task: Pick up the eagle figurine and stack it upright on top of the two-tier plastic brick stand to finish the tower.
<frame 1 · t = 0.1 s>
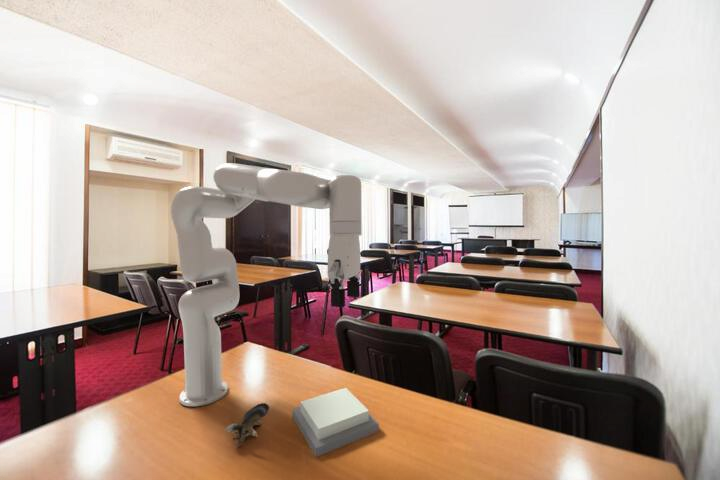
hand: (346, 301, 72), 31 cm above the table, tool pointing down, fingers open, 9 cm apart
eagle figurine: (249, 436, 71), on the table
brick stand: (333, 425, 75), on the table
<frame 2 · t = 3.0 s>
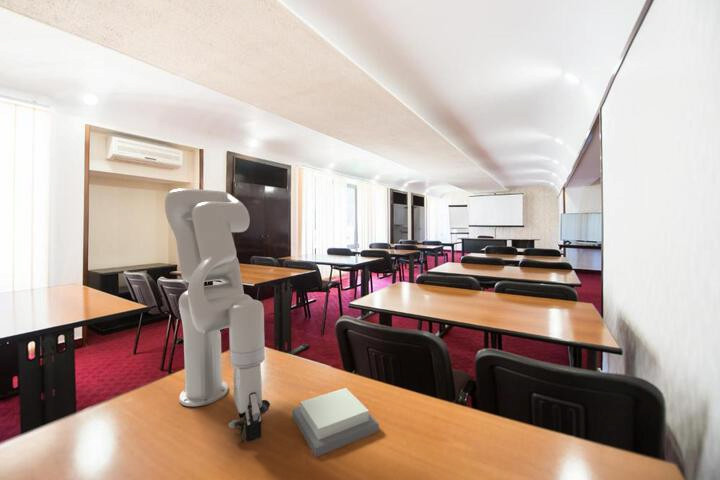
hand: (249, 427, 70), 2 cm above the table, tool pointing down, fingers open, 9 cm apart
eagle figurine: (250, 432, 72), on the table, touching gripper
everything else where it was.
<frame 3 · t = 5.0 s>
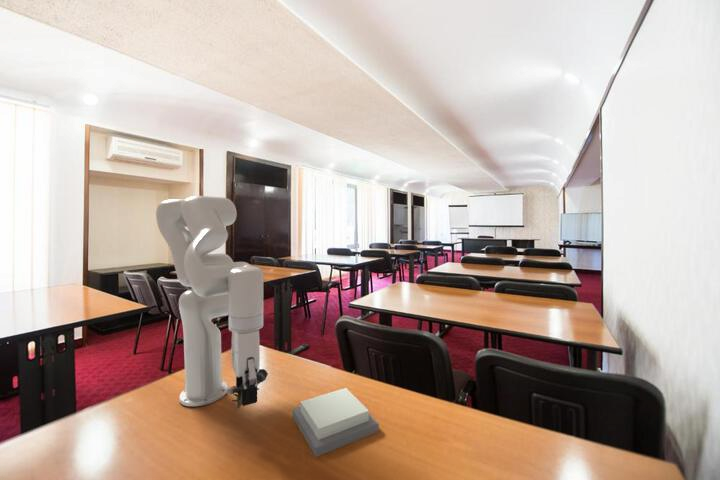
hand: (246, 393, 71), 10 cm above the table, tool pointing down, fingers closed on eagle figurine, 7 cm apart
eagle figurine: (248, 400, 73), point 7 cm above the table, touching gripper
everything else where it was.
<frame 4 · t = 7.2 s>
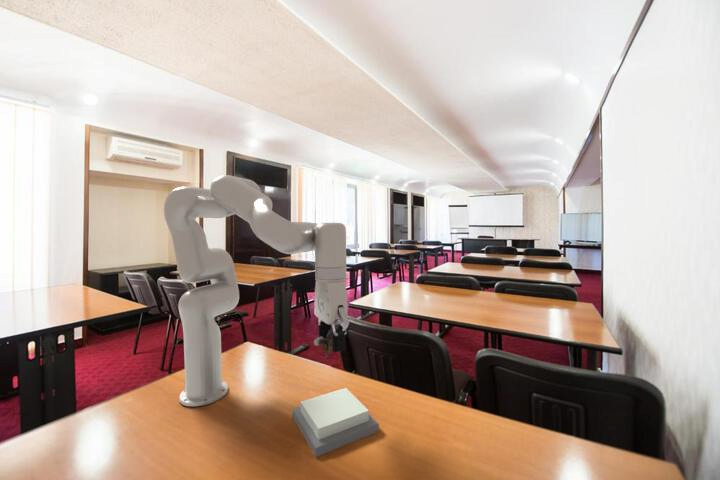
hand: (331, 344, 74), 20 cm above the table, tool pointing down, fingers closed on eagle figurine, 7 cm apart
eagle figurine: (331, 352, 76), point 17 cm above the table, touching gripper
everything else where it was.
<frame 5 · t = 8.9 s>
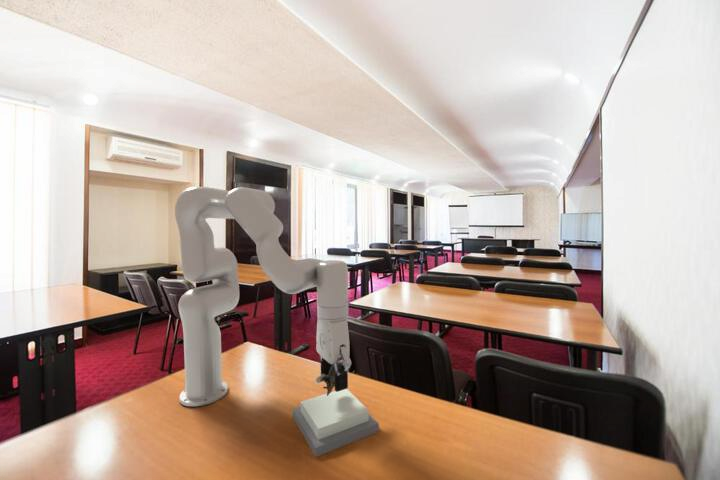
hand: (333, 381, 75), 11 cm above the table, tool pointing down, fingers closed on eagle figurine, 7 cm apart
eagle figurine: (333, 388, 77), point 8 cm above the table, touching gripper
everything else where it was.
when the fingers open (8 cm above the table, at t = 10.5 s): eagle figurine drops 1 cm, resting on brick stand.
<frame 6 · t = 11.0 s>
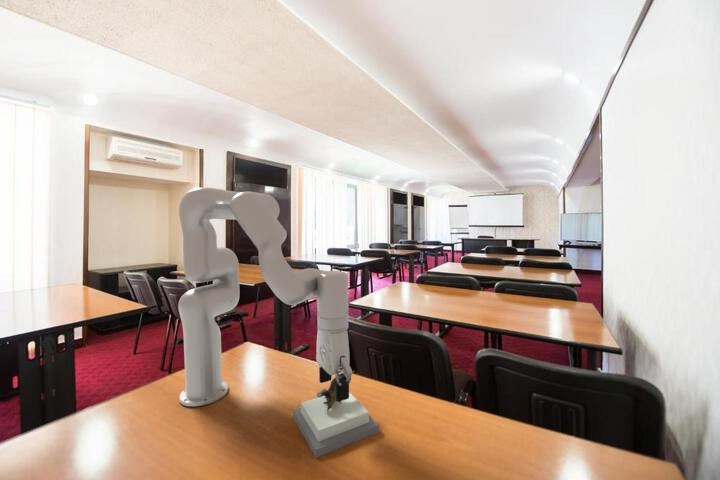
hand: (333, 390, 75), 8 cm above the table, tool pointing down, fingers open, 9 cm apart
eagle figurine: (333, 402, 77), point 4 cm above the table, touching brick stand
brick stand: (334, 426, 75), on the table, touching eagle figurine
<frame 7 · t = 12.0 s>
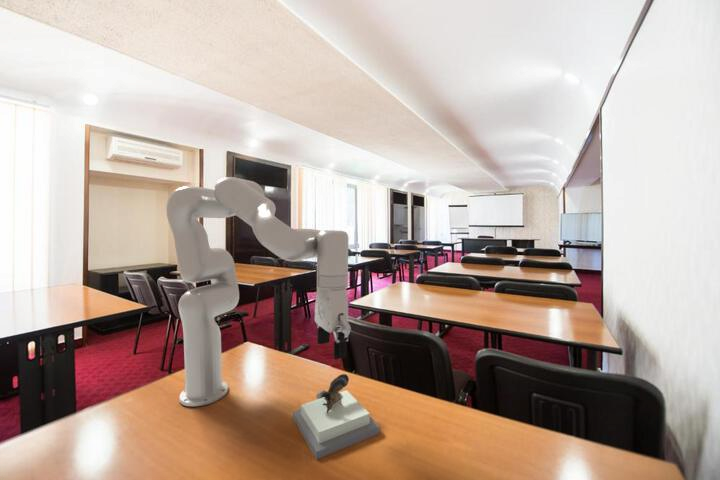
hand: (331, 350, 74), 19 cm above the table, tool pointing down, fingers open, 9 cm apart
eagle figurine: (333, 404, 76), point 4 cm above the table
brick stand: (334, 428, 74), on the table
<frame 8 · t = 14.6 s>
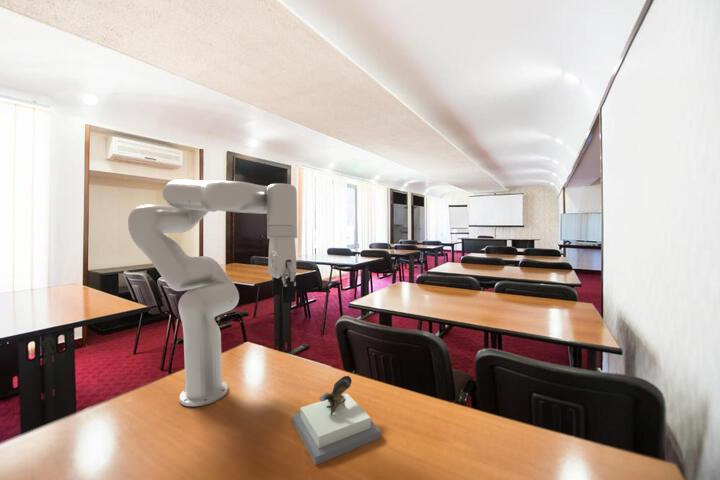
hand: (283, 298, 79), 30 cm above the table, tool pointing down, fingers open, 9 cm apart
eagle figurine: (337, 406, 75), point 4 cm above the table, touching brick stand
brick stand: (334, 432, 73), on the table, touching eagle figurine
at the end: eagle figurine inside the target area on the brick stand (2.7 cm from its centre), point 4.8 cm above the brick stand's base; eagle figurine tilted 0°; the gripper is holding nothing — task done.
